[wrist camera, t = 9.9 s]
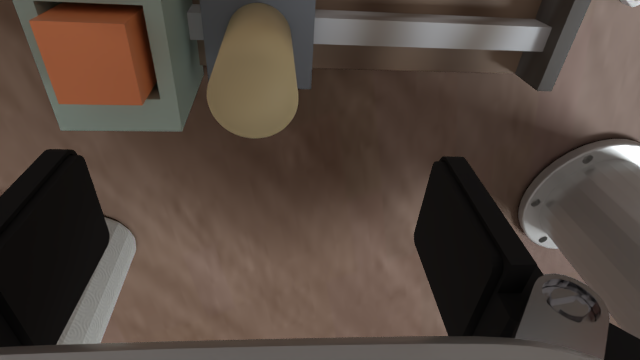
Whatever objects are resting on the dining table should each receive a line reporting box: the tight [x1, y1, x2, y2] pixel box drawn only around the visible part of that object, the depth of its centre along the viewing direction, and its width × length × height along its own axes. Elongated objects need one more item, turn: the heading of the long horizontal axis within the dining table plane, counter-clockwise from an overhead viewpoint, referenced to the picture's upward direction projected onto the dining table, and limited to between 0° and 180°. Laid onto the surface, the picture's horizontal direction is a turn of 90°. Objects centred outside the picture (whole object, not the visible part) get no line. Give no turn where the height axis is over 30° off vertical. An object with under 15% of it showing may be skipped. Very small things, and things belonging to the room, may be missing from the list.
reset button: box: [29, 2, 157, 105], centre depth 18 cm, size 4×4×3 cm
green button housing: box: [12, 0, 204, 131], centre depth 21 cm, size 6×8×8 cm
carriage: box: [200, 0, 316, 138], centre depth 20 cm, size 6×6×11 cm
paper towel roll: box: [56, 217, 136, 345], centre depth 27 cm, size 7×6×21 cm
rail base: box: [187, 0, 591, 91], centre depth 24 cm, size 23×6×4 cm, turn 86°
